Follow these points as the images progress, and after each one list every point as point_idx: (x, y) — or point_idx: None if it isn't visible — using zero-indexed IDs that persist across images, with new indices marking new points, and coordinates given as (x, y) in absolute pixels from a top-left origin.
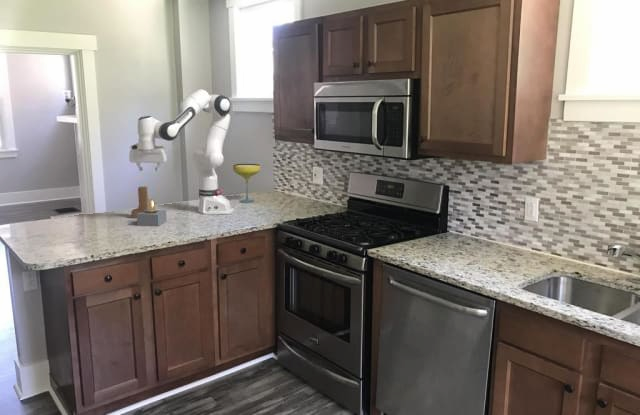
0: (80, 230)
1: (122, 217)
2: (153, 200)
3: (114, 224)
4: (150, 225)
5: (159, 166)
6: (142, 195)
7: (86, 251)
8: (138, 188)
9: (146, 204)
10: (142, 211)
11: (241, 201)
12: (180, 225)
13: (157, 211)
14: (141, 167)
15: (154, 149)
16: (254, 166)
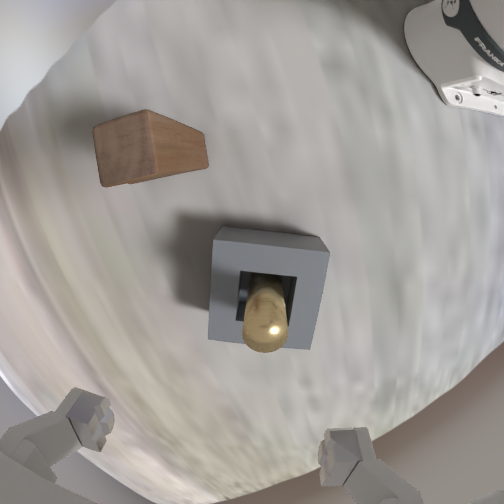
0: (78, 358)
1: None
2: (284, 342)
3: (124, 292)
4: None
5: (389, 469)
6: (152, 177)
7: (204, 487)
8: (105, 186)
9: (191, 169)
10: (213, 285)
11: None
12: (385, 303)
13: (289, 275)
14: (92, 441)
15: None
16: None
